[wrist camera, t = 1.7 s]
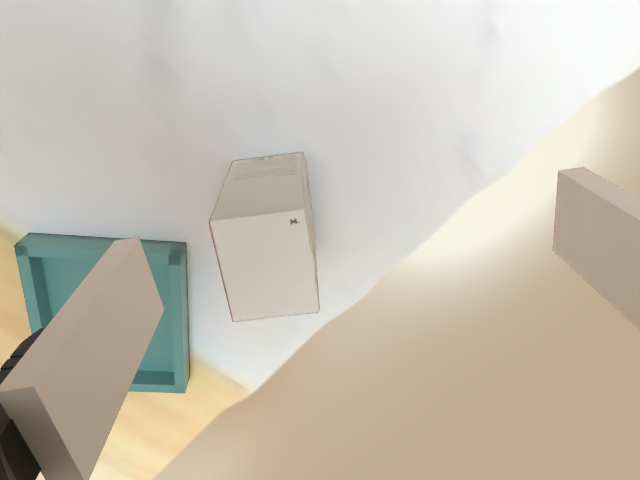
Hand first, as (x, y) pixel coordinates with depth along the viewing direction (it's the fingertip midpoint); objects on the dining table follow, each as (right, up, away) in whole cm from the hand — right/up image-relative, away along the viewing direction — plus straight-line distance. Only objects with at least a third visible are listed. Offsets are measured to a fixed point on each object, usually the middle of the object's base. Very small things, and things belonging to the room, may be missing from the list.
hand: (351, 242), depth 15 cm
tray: (-21, -7, +32) cm, 39 cm away
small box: (-5, +4, +28) cm, 29 cm away
